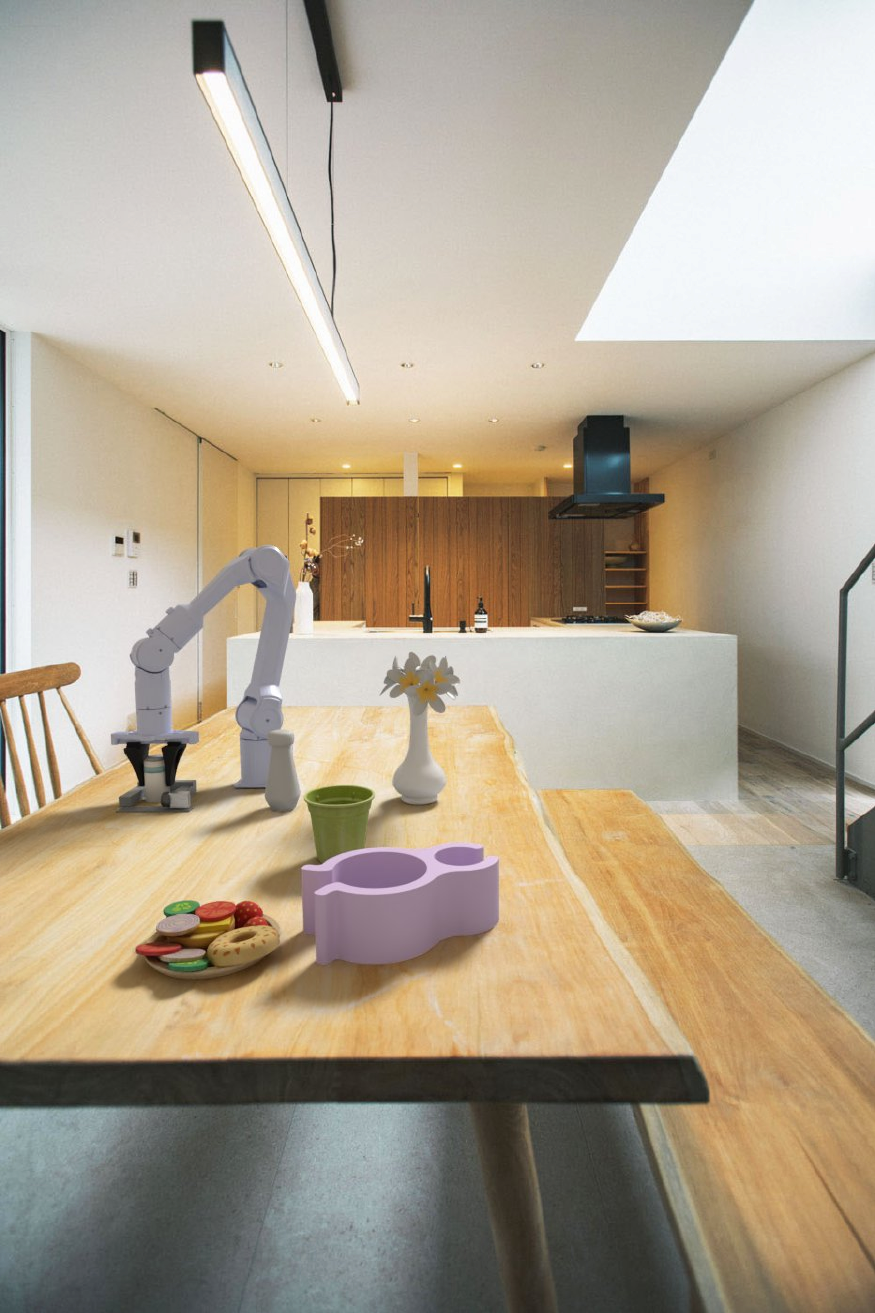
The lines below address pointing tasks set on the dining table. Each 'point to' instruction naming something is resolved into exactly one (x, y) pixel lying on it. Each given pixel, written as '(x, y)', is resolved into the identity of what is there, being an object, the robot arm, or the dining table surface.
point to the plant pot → (339, 818)
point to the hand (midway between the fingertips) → (157, 784)
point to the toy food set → (210, 939)
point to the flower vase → (420, 724)
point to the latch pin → (176, 799)
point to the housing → (139, 793)
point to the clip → (398, 901)
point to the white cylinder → (154, 778)
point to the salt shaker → (282, 773)
